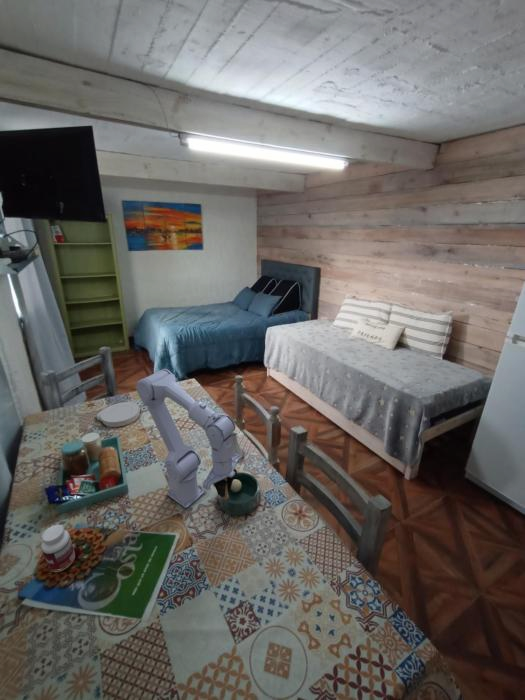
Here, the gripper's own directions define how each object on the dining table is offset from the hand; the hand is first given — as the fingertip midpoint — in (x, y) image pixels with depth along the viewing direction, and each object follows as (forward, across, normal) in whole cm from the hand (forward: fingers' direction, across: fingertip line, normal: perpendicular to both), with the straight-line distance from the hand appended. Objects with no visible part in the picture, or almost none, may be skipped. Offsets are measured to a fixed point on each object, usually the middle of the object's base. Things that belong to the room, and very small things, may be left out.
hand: (224, 492), depth 95 cm
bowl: (+9, +8, +1) cm, 12 cm away
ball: (+7, +9, +3) cm, 12 cm away
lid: (+10, +13, +78) cm, 79 cm away
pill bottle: (+10, -36, +26) cm, 46 cm away
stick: (+2, 0, 0) cm, 2 cm away
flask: (+10, +23, +15) cm, 29 cm away
